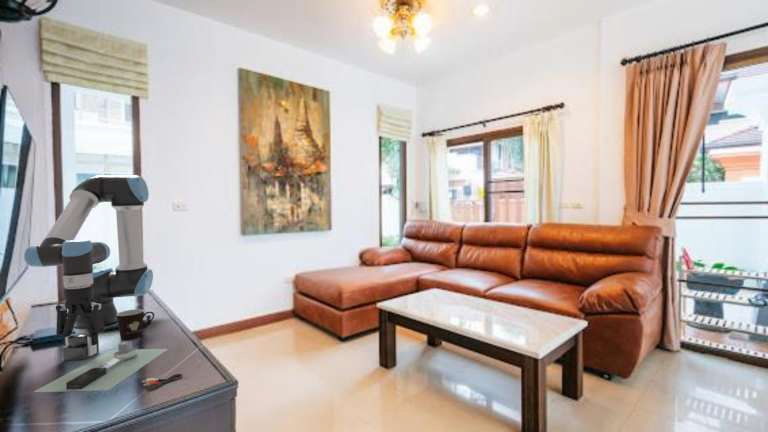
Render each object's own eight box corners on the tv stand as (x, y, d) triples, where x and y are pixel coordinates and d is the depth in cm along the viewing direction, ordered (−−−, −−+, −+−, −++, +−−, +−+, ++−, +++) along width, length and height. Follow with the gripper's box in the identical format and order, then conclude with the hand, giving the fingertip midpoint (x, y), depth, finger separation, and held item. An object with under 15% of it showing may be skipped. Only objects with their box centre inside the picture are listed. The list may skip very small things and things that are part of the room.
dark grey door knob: (79, 352, 121) (79, 332, 121) (98, 351, 121) (98, 331, 121) (63, 360, 115) (62, 339, 114) (83, 360, 115) (82, 338, 115)
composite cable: (181, 375, 104) (181, 367, 104) (184, 382, 101) (184, 373, 101) (141, 386, 98) (141, 378, 98) (143, 394, 95) (142, 384, 94)
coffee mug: (114, 344, 129) (114, 317, 129) (119, 336, 137) (118, 311, 137) (152, 338, 135) (151, 312, 134) (155, 331, 142) (154, 307, 142)
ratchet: (122, 354, 119) (122, 339, 119) (141, 353, 119) (140, 339, 119) (62, 389, 96) (62, 371, 96) (85, 388, 96) (84, 370, 96)
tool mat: (110, 351, 123) (110, 350, 123) (168, 349, 123) (168, 348, 123) (33, 393, 95) (32, 392, 95) (108, 391, 95) (108, 390, 95)
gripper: (38, 289, 113) (41, 360, 114) (99, 288, 114) (102, 358, 114) (59, 284, 121) (61, 350, 121) (116, 283, 121) (119, 349, 122)
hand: (81, 354), depth 118 cm, fingers closed on dark grey door knob, 6 cm apart
